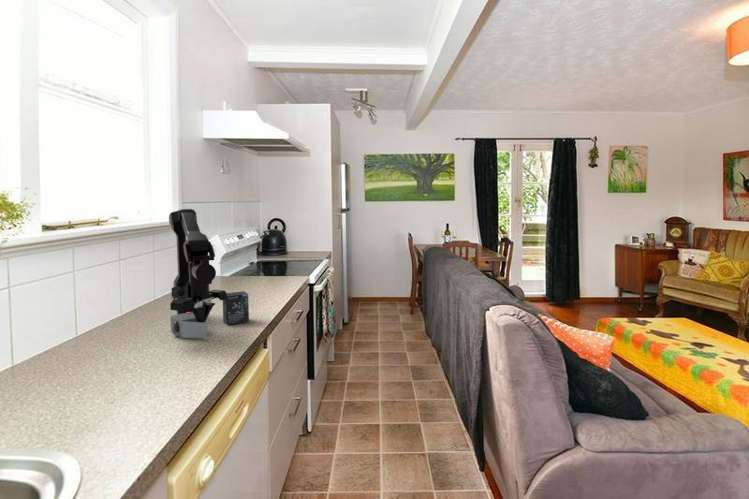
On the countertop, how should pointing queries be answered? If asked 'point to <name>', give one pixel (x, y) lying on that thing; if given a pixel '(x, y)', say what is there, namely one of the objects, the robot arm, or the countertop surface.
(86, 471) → the countertop surface
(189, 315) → the grey squat block
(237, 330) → the countertop surface
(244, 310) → the box
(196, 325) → the side door
